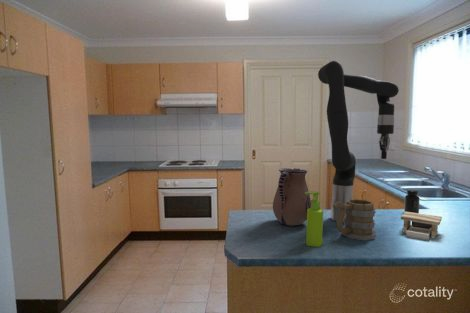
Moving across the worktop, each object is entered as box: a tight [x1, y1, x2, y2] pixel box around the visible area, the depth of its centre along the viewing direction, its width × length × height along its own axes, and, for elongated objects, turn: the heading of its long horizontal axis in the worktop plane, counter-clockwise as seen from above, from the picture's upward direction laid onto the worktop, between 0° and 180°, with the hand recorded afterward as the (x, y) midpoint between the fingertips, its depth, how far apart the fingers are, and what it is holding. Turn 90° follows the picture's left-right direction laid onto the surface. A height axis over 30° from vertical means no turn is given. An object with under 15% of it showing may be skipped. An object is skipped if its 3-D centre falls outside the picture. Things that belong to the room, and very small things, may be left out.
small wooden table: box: [400, 212, 443, 239], centre depth 140 cm, size 11×14×7 cm
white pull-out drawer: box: [405, 224, 432, 241], centre depth 138 cm, size 15×8×2 cm, turn 145°
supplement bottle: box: [404, 189, 420, 214], centre depth 172 cm, size 7×7×12 cm
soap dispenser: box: [305, 190, 324, 248], centre depth 123 cm, size 6×7×20 cm
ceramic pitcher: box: [272, 167, 311, 227], centre depth 148 cm, size 18×21×25 cm
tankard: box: [333, 198, 377, 241], centre depth 133 cm, size 20×13×15 cm, turn 110°
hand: (383, 158), depth 165 cm, fingers closed
